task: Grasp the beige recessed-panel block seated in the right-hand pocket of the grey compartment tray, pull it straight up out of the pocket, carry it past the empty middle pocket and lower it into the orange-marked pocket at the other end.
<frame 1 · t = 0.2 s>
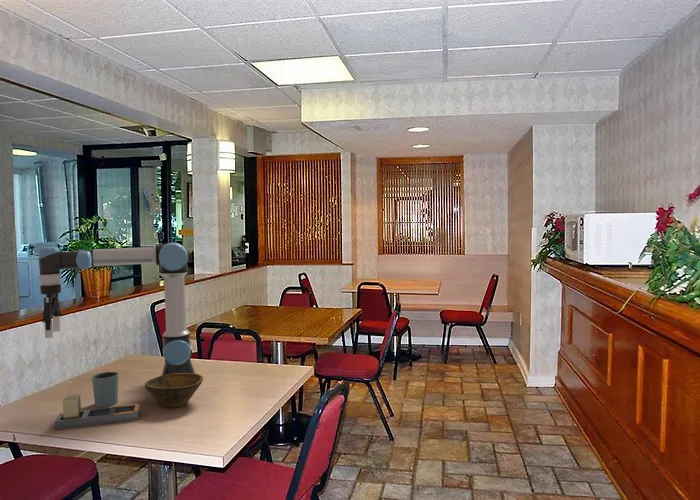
hand: (53, 334, 223), 28 cm above the table, fingers open, 13 cm apart
beige recessed-panel block: (72, 423, 197), resting in grey compartment tray
bowl: (175, 404, 216), on the table
grey-green cup: (106, 403, 218), on the table
grey compartment tray: (99, 420, 199), on the table
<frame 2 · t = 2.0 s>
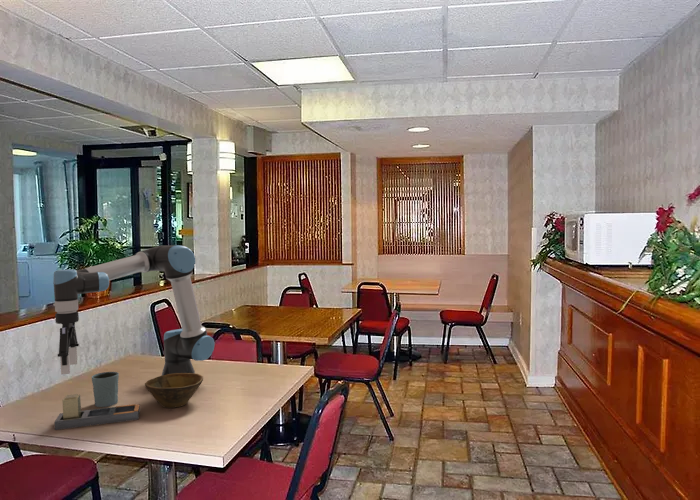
hand: (69, 369, 196), 21 cm above the table, fingers open, 13 cm apart
nothing on the table moved.
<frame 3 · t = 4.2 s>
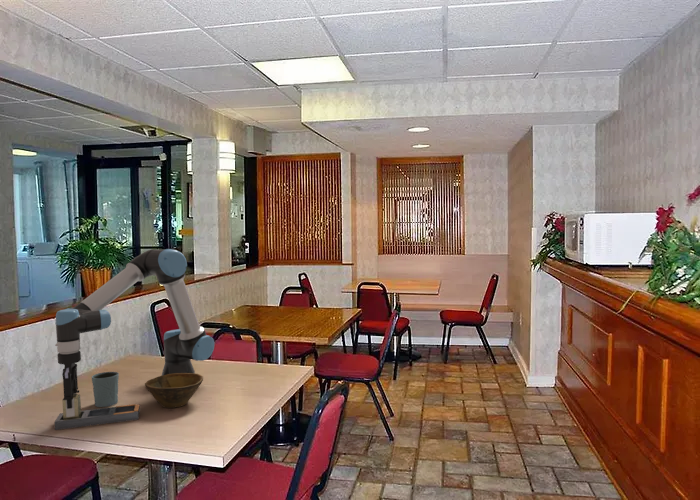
hand: (72, 413, 197), 4 cm above the table, fingers closed on beige recessed-panel block, 5 cm apart
beige recessed-panel block: (72, 423, 197), resting in grey compartment tray, touching gripper
everything else where it was.
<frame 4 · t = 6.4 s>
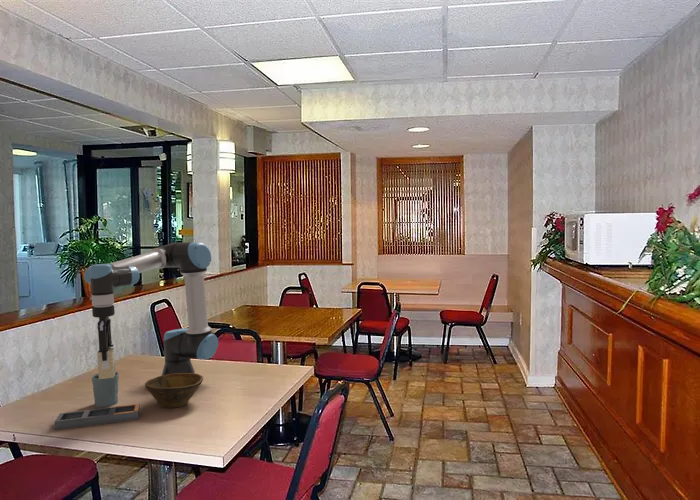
hand: (106, 366, 200), 20 cm above the table, fingers closed on beige recessed-panel block, 5 cm apart
beige recessed-panel block: (107, 376, 200), point 16 cm above the table, touching gripper
everything else where it was.
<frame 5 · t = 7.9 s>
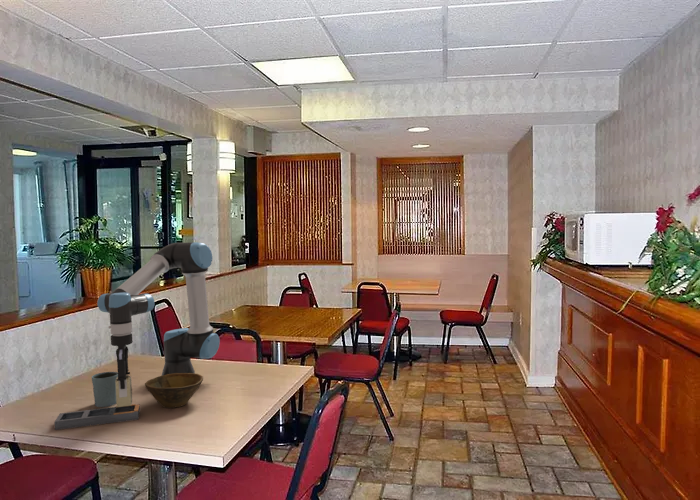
hand: (124, 394, 202), 9 cm above the table, fingers closed on beige recessed-panel block, 5 cm apart
beige recessed-panel block: (124, 404, 202), point 5 cm above the table, touching gripper
everything else where it was.
when the fingers open (5 cm above the table, at t = 8.9 s): beige recessed-panel block drops 1 cm, resting in grey compartment tray.
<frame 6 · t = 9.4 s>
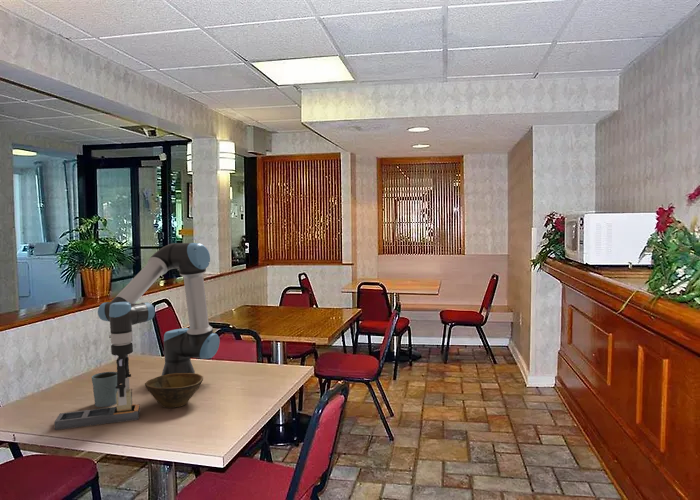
hand: (124, 399, 202), 7 cm above the table, fingers open, 12 cm apart
beige recessed-panel block: (125, 417, 202), resting in grey compartment tray
everything else where it was.
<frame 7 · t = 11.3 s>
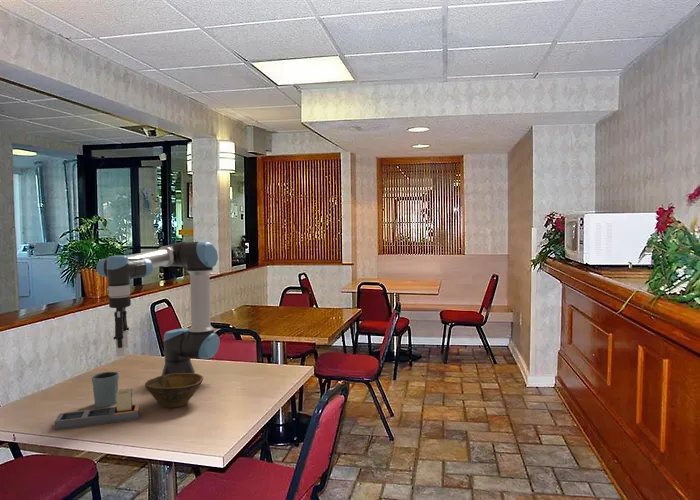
hand: (122, 351, 202), 25 cm above the table, fingers open, 13 cm apart
nothing on the table moved.
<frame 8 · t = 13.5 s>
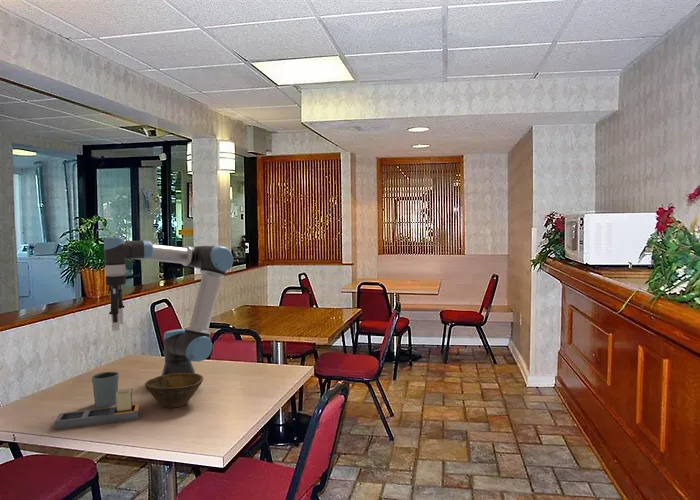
hand: (118, 327, 216), 32 cm above the table, fingers open, 13 cm apart
nothing on the table moved.
at the end: beige recessed-panel block 0.1 cm from the target spot on the grey compartment tray, point 0.0 cm above the grey compartment tray's base; beige recessed-panel block tilted 0°; the gripper is holding nothing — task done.
